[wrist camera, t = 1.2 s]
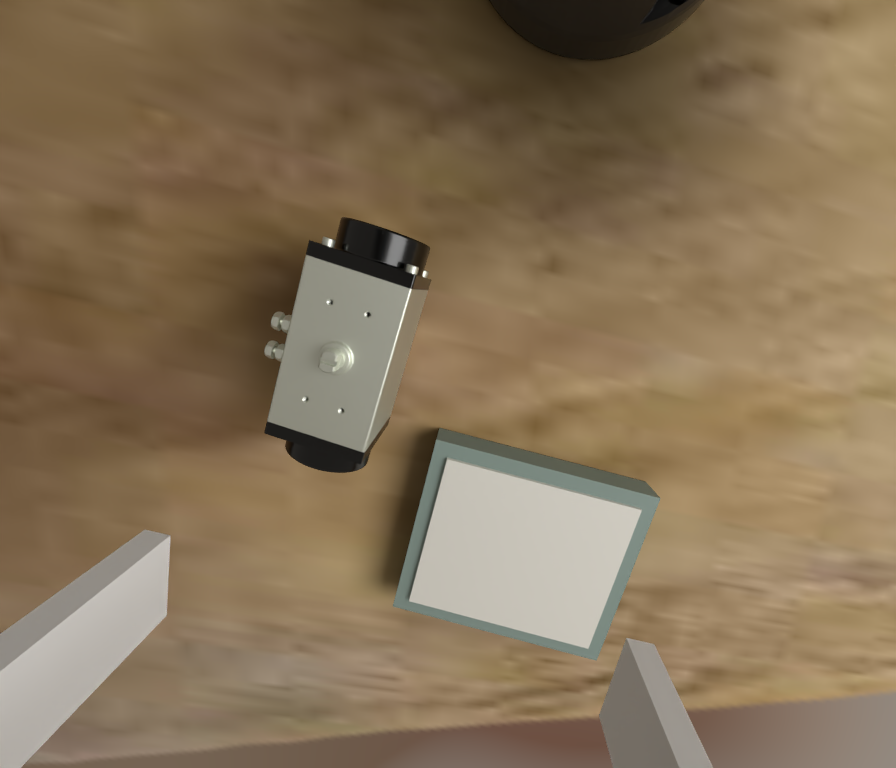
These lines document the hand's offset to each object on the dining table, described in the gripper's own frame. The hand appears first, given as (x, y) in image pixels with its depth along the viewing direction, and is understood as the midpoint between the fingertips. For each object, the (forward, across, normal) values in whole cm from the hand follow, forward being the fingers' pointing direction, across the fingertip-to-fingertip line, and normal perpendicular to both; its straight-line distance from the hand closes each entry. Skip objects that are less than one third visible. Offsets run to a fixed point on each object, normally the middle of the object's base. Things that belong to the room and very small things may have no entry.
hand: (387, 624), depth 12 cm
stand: (+19, +7, -7) cm, 21 cm away
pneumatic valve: (+19, -6, +5) cm, 20 cm away
